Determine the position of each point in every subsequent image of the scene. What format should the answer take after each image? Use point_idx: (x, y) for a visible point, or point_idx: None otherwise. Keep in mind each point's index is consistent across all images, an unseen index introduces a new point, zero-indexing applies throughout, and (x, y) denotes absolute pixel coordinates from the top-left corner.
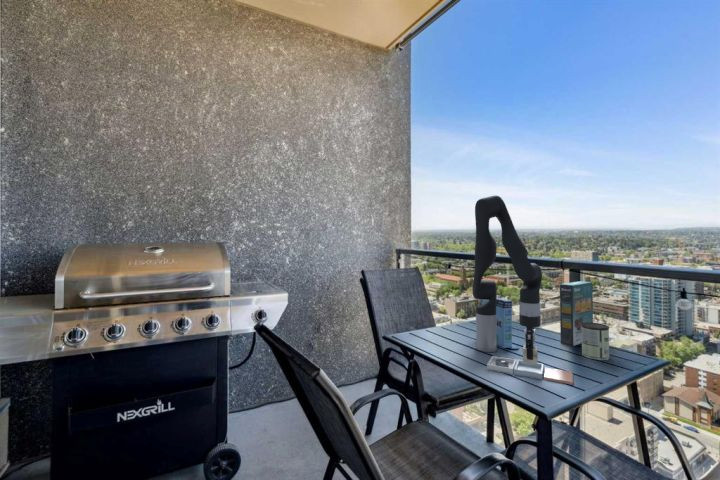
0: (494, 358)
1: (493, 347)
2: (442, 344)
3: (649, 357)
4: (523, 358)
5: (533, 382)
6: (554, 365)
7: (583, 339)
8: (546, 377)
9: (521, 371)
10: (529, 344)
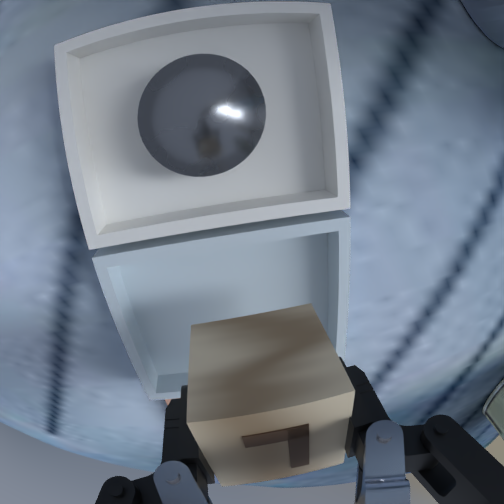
0: (315, 25)
1: (500, 24)
2: None
3: (496, 435)
4: (191, 346)
5: (84, 350)
6: (411, 357)
7: None
8: (165, 399)
9: (110, 302)
10: (356, 440)
